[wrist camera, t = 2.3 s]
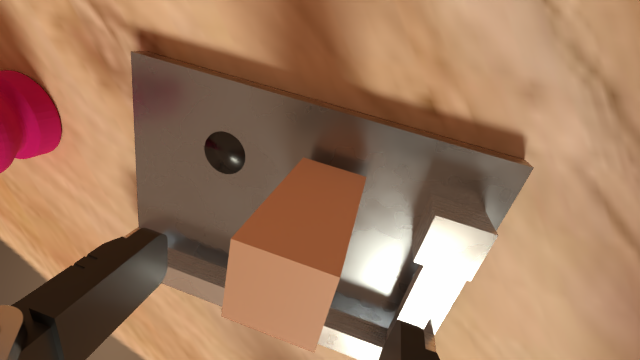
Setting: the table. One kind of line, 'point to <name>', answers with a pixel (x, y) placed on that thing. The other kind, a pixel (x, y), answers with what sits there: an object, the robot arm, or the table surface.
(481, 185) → the hole plate
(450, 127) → the table surface
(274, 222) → the block
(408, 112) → the table surface
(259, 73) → the table surface
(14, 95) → the pepper mill
